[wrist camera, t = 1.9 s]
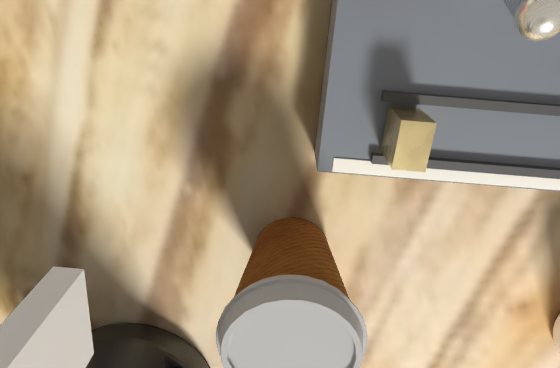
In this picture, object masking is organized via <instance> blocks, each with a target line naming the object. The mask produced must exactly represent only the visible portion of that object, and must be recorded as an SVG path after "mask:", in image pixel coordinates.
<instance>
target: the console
mask: <svg viewBox="0 0 560 368" xmlns="http://www.w3.org/2000/svg"><path fill="white" fill-rule="evenodd" d="M389 106H397V107H409V108H420V109H421V110H422V111H423V112H425V113H426V114H427V115H428V116H429V117H430V118H432V119H433V120H434V121H435V122H436V123H437V125H436V129H435V133H434V138H433V142H432V146H431V151H430V155H429V159H428V164H427V168H426V172H416V171H404V170H392V169H391V167H390V165H389V164H388V162H387V160H386V159H385V157H384V155H383V153H382V152H381V145H382V140H383V134H384V129H385V123H386V118H387V112H388V107H389ZM315 159H316V166H317V171H318V172H330V173H342V174H355V175H367V176H379V177H391V178H404V179H416V180H428V181H440V182H453V183H465V184H477V185H489V186H501V187H514V188H526V189H538V190H550V191H560V32H559V33H558V34H556V35H555V36H553V37H552V38H550V39H547V40H544V41H529V40H526V39H524V38H523V37H521V36H520V35H519V34H518V33H517V31H516V29H515V26H514V18H513V16H512V14H511V13H510V11H509V10H508V8H507V6H506V5H505V3H504V2H503V0H332V6H331V15H330V23H329V32H328V41H327V49H326V58H325V67H324V75H323V84H322V93H321V101H320V110H319V119H318V127H317V136H316V145H315Z"/></svg>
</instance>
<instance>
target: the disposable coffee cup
mask: <svg viewBox="0 0 560 368" xmlns="http://www.w3.org/2000/svg"><path fill="white" fill-rule="evenodd" d="M216 344H217V348H218V351H219V354H220V356H221V360H222V364H223V367H224V368H360V365H361V361H362V359H363V356H364V354H365V351H366V346H367V331H366V326H365V323H364V320H363V317H362V316H361V314H360V312H359V310H358V309H357V307H356V306H355V305H354V304H353V303H352V302H351V301H350V299H349V297H348V294H347V292H346V289H345V287H344V284H343V282H342V279H341V276H340V274H339V271H338V269H337V266H336V263H335V261H334V258H333V256H332V253H331V251H330V248H329V245H328V243H327V240H326V237H325V235H324V234H323V232H322V231H321V230H320V229H319V228H318V227H317V226H316V225H314V224H313V223H311V222H309V221H306V220H303V219H299V218H285V219H280V220H277V221H274V222H272V223H271V224H269V225H268V226H267V227H265V228H264V229H263V230H262V231H261V233H260V235H259V236H258V238H257V241H256V243H255V246H254V249H253V251H252V254H251V256H250V259H249V261H248V264H247V266H246V268H245V271H244V273H243V276H242V278H241V281H240V283H239V286H238V288H237V291H236V294H235V296H234V298H233V299H232V300H231V301H230V302H229V304H228V305H227V306H226V307H225V309H224V311H223V313H222V315H221V317H220V319H219V321H218V326H217V330H216Z"/></svg>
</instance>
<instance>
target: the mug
mask: <svg viewBox="0 0 560 368" xmlns="http://www.w3.org/2000/svg"><path fill="white" fill-rule="evenodd" d="M553 340H554V343H555V345H556V347H557V349H558V351H559V352H560V314H559V315H558V317H557V319H556V321H555V324H554V327H553Z"/></svg>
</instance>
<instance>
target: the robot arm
mask: <svg viewBox="0 0 560 368" xmlns="http://www.w3.org/2000/svg"><path fill="white" fill-rule="evenodd" d="M0 368H209V366H208V364H207V363H206V361H205V360H204V358H203V357H202V356H201V355H200V354H199V352H198V351H197V350H195V349H194V348H193V347H192V346H191V345H190V344H188V343H187V342H186V341H184V340H183V339H181V338H179V337H177V336H176V335H174V334H171V333H169V332H167V331H164V330H161V329H158V328H155V327H151V326H146V325H140V324H116V325H110V326H105V327H102V328H99V329H96V330H94V331H92V332H91V324H90V315H89V306H88V298H87V289H86V281H85V272H84V269H77V268H66V267H54V266H53V267H52V268H51V269H50V270H49V272H48V273H47V274H46V275H45V276H44V277H43V278H42V279H41V280H40V282H39V283H38V284H37V285H36V286H35V287H34V288H33V289H32V290H31V292H30V293H29V294H28V295H27V296H26V297H25V298H24V299H23V300H22V302H21V303H20V304H19V305H18V306H17V307H16V308H15V309H14V310H13V312H12V313H11V314H10V315H9V316H8V317H7V318H6V319H5V320H4V322H3V323H2V324H1V325H0Z"/></svg>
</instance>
